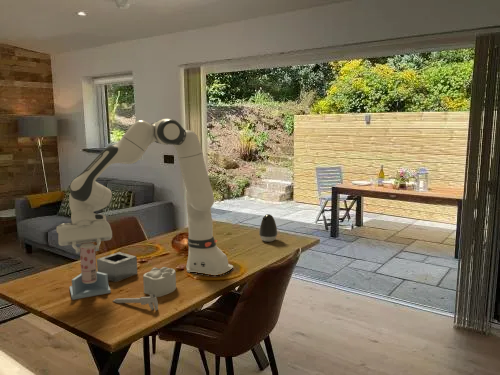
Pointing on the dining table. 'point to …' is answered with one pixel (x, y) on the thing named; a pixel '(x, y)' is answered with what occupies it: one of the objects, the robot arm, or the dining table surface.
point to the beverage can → (88, 263)
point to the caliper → (140, 301)
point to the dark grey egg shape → (268, 228)
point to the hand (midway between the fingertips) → (87, 251)
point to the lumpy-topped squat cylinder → (159, 281)
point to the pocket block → (117, 266)
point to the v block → (89, 287)
